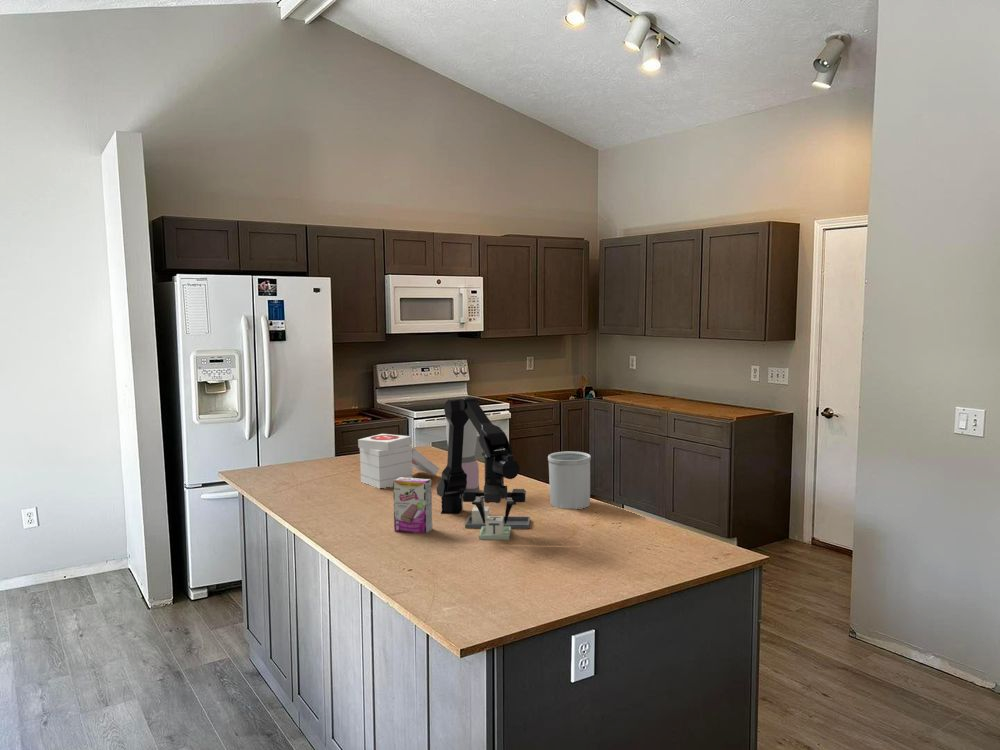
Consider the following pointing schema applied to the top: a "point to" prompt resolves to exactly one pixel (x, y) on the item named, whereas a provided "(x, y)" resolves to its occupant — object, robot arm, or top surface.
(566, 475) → the utensil holder
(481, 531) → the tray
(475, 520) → the blank cube
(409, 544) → the top surface
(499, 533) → the letter cube
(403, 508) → the candy bar box
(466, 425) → the blender
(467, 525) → the tray left
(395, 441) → the pizza boxes
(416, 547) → the top surface
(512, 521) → the tray right
